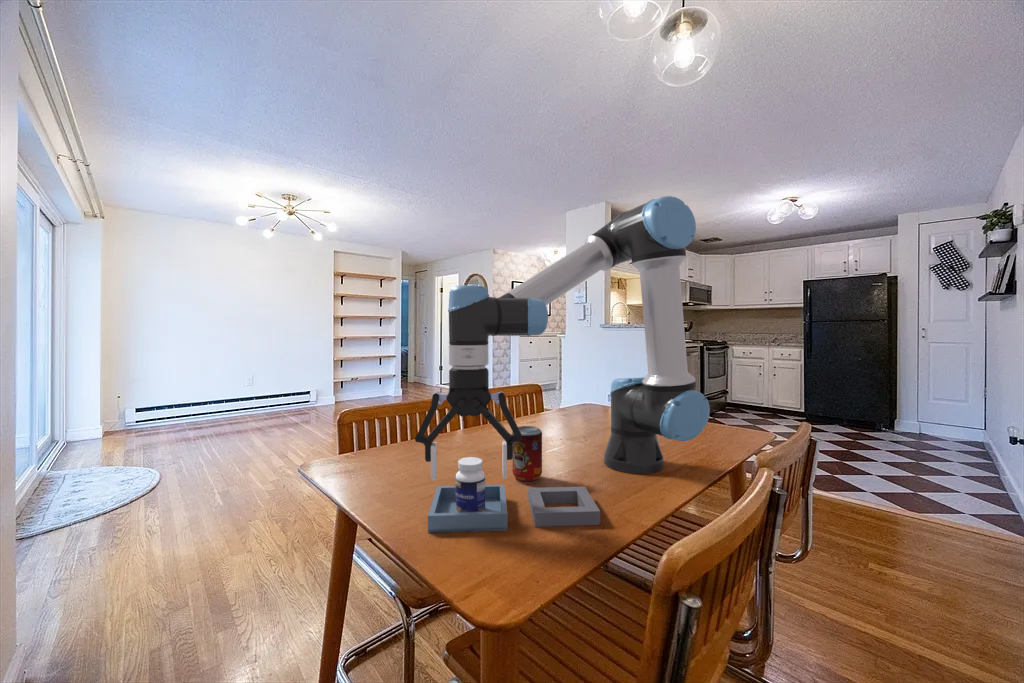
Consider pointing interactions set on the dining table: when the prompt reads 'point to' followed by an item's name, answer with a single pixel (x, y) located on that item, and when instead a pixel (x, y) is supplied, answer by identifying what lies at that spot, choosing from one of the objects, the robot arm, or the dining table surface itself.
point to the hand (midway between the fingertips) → (469, 477)
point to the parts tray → (450, 521)
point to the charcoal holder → (562, 515)
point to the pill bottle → (470, 486)
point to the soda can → (528, 455)
